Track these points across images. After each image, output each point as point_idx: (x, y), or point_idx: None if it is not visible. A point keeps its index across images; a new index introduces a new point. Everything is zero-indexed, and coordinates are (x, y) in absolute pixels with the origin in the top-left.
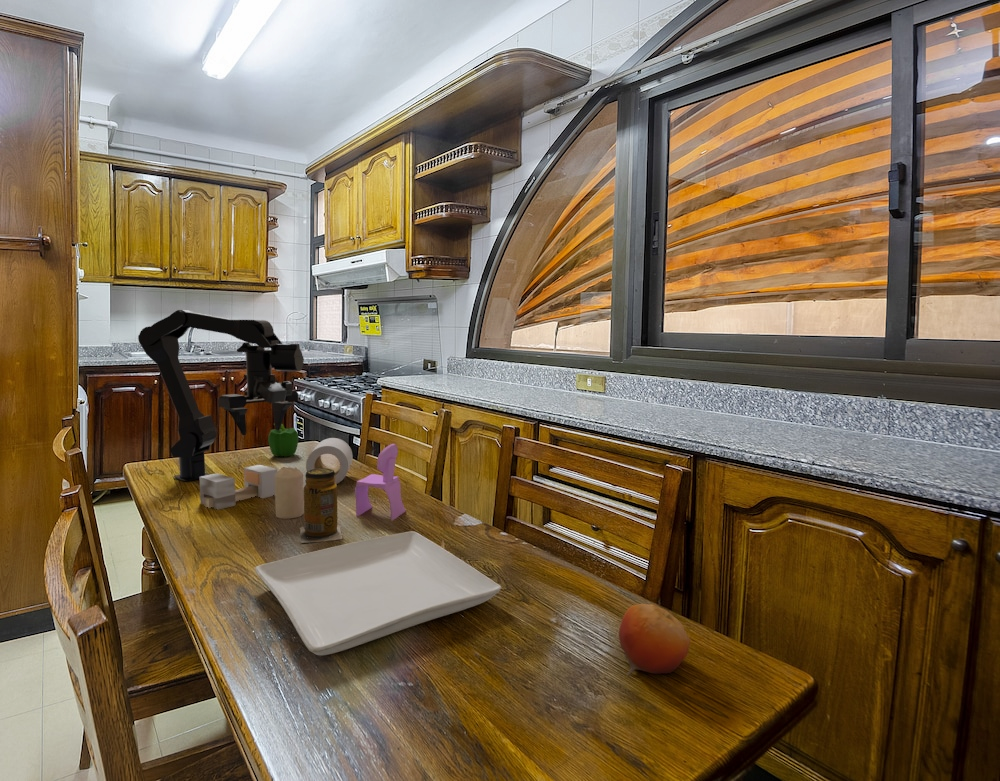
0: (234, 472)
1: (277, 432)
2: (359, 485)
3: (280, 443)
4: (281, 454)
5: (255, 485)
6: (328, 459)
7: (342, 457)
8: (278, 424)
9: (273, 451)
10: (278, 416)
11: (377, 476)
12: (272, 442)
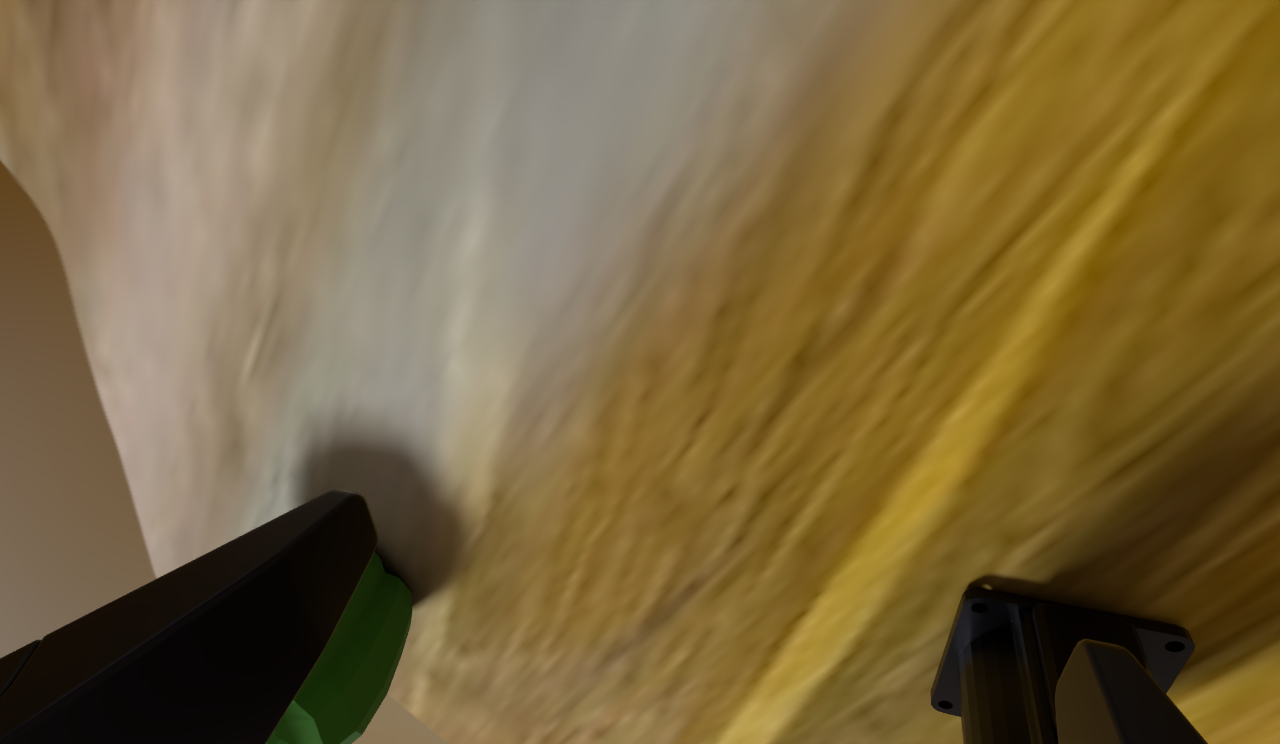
0: (779, 547)
1: (293, 719)
2: None
3: (337, 626)
4: (378, 569)
5: None
6: (158, 301)
7: None
8: (278, 562)
9: (402, 619)
10: (123, 732)
11: None
12: (372, 671)
